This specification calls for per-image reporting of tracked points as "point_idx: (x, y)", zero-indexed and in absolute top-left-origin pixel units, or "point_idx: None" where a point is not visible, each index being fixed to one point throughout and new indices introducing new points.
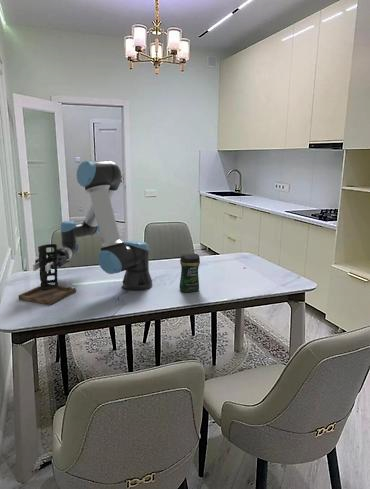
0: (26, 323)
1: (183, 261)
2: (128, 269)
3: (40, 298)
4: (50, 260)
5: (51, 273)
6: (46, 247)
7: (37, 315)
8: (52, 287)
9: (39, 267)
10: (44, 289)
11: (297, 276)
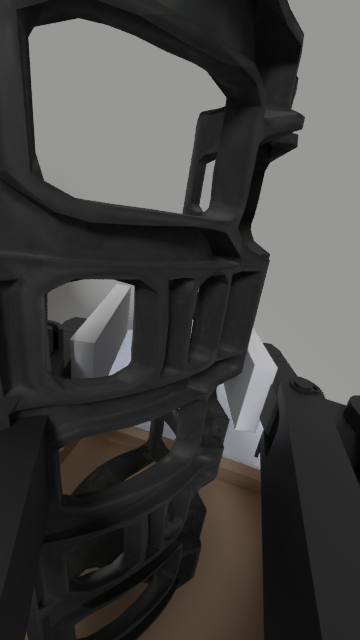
0: (129, 338)
1: None
2: None
3: (141, 437)
4: (135, 392)
5: (117, 563)
6: (225, 77)
7: (114, 364)
8: (84, 485)
9: (227, 385)
10: (134, 449)
11: None
